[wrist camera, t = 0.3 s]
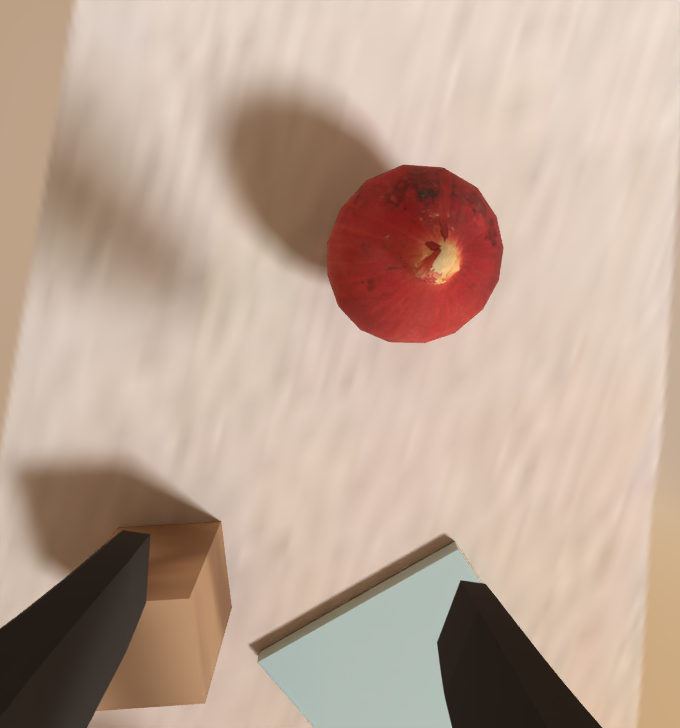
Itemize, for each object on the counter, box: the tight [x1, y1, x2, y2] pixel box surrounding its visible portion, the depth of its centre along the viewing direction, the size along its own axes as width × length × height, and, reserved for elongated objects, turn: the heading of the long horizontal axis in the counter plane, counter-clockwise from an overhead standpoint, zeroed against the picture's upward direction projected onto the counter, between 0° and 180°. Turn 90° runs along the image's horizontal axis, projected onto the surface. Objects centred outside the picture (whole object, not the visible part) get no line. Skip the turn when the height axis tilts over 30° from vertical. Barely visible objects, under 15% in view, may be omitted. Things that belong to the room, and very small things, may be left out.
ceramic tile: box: [258, 542, 482, 728], centre depth 23 cm, size 12×12×1 cm
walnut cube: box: [96, 522, 232, 711], centre depth 19 cm, size 5×5×5 cm
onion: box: [328, 165, 503, 343], centre depth 14 cm, size 6×6×8 cm
